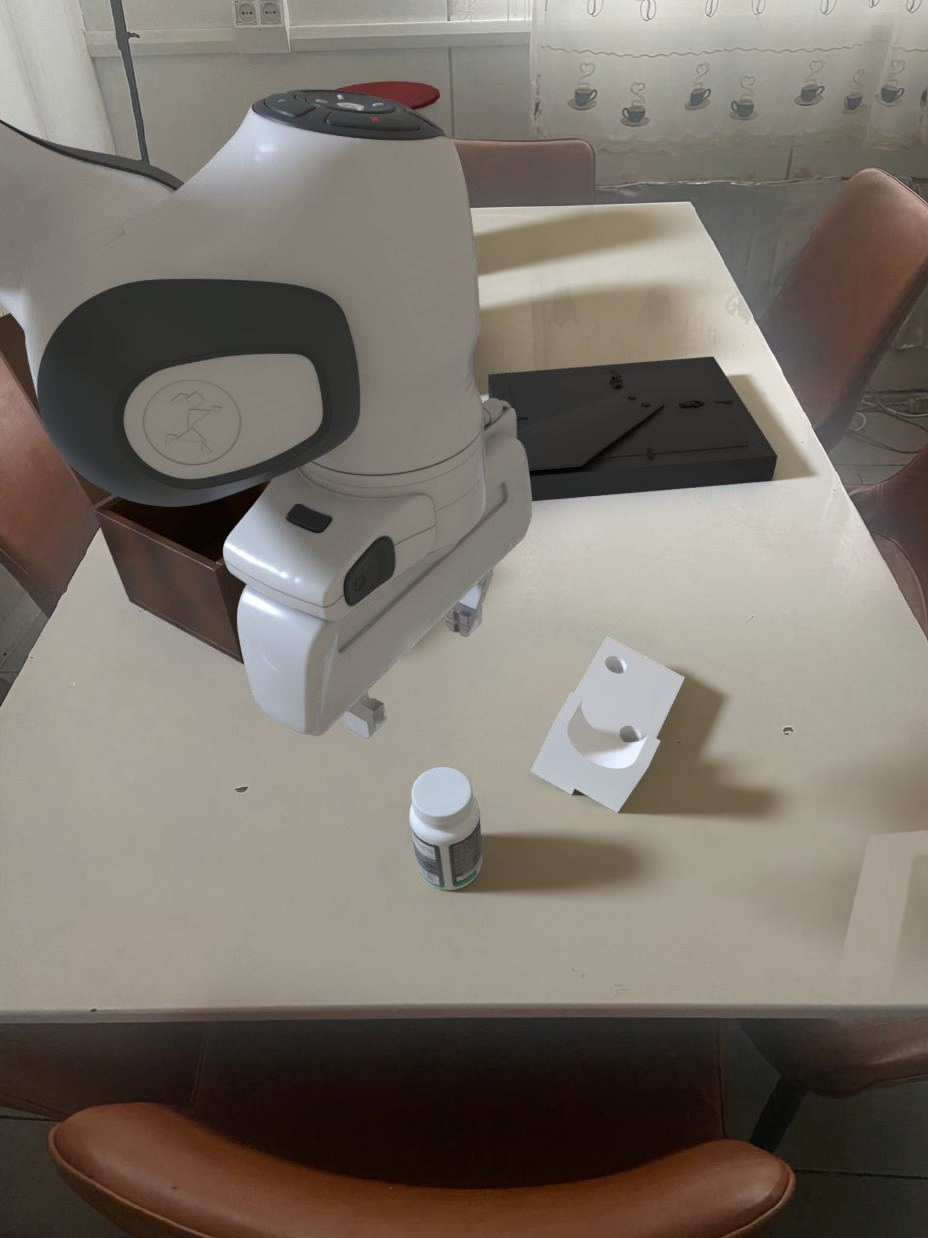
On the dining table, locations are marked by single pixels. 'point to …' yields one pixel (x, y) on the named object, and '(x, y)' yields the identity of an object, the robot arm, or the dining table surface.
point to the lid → (10, 345)
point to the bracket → (609, 726)
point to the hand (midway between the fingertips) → (418, 674)
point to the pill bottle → (446, 828)
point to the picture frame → (633, 428)
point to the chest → (181, 562)
